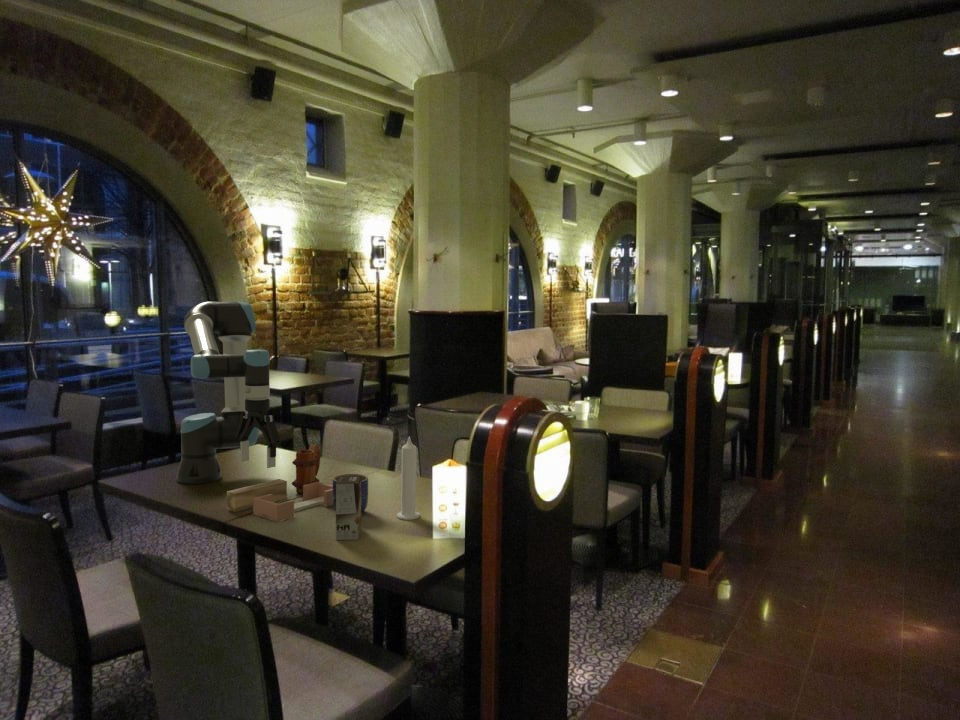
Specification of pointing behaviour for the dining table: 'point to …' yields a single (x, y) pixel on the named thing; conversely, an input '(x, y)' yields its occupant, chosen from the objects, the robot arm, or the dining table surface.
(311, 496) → the endcap rail
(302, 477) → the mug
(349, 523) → the coffee box
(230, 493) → the tan wooden beam
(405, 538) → the dining table surface
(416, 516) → the candle
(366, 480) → the planter
